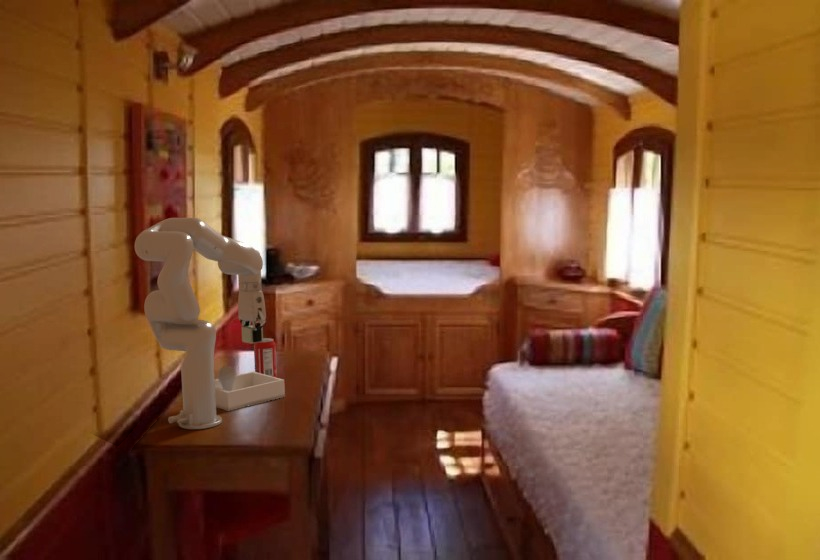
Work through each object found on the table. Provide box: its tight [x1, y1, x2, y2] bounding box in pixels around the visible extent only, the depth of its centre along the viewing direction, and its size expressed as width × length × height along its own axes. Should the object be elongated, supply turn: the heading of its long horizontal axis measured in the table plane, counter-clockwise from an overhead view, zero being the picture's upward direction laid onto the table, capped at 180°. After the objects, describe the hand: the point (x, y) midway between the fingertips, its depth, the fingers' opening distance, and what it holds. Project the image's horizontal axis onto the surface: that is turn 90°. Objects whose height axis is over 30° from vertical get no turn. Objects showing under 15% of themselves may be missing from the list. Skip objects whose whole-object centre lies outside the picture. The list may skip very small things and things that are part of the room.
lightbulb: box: [217, 365, 237, 391], centre depth 260 cm, size 6×6×11 cm
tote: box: [215, 371, 286, 412], centre depth 263 cm, size 22×18×6 cm
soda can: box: [253, 337, 278, 378], centre depth 289 cm, size 8×8×15 cm
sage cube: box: [241, 324, 264, 344], centre depth 265 cm, size 5×5×5 cm
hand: (252, 340), depth 265 cm, fingers closed on sage cube, 5 cm apart
